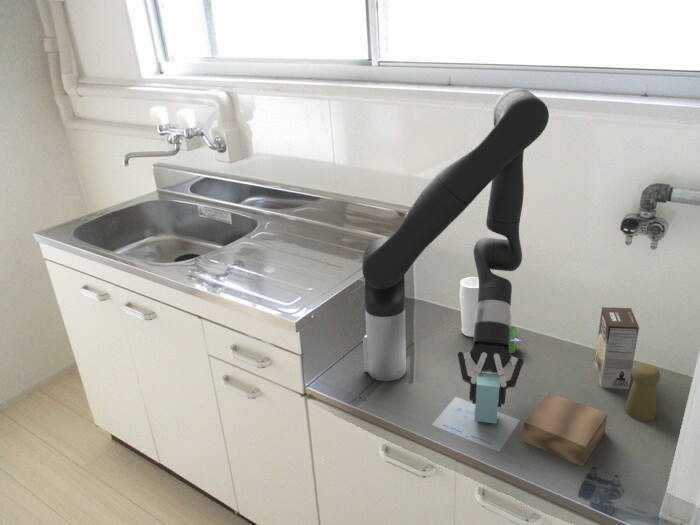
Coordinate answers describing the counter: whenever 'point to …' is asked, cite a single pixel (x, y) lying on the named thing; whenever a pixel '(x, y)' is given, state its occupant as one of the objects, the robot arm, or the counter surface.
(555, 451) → the walnut block
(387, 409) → the counter surface
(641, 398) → the cork
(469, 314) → the drinking glass
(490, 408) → the teal block
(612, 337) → the coffee box
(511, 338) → the geometric puzzle
